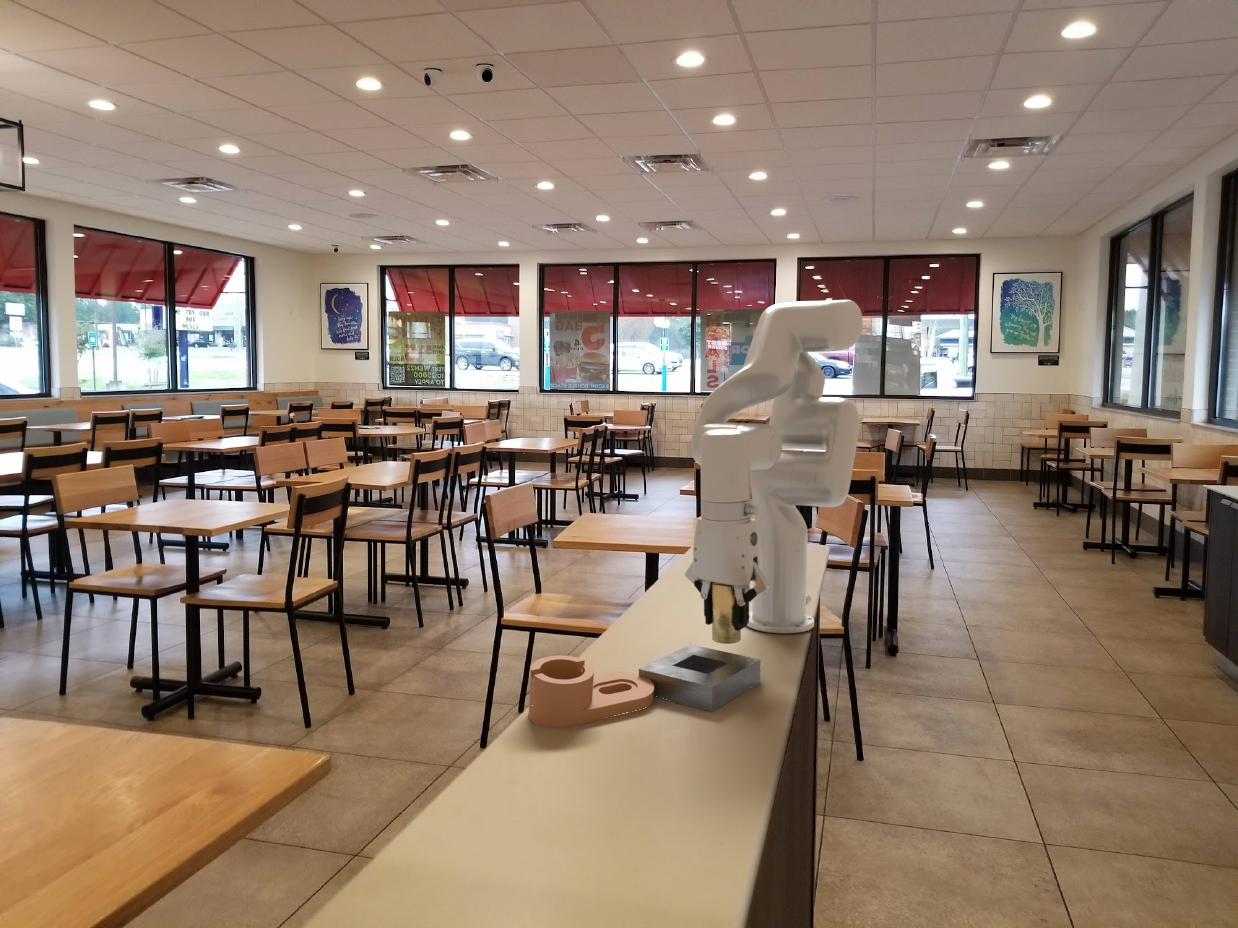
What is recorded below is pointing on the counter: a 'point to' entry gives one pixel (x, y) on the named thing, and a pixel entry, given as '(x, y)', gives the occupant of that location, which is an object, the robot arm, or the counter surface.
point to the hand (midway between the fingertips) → (726, 623)
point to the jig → (702, 676)
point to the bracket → (582, 692)
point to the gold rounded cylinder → (724, 614)
